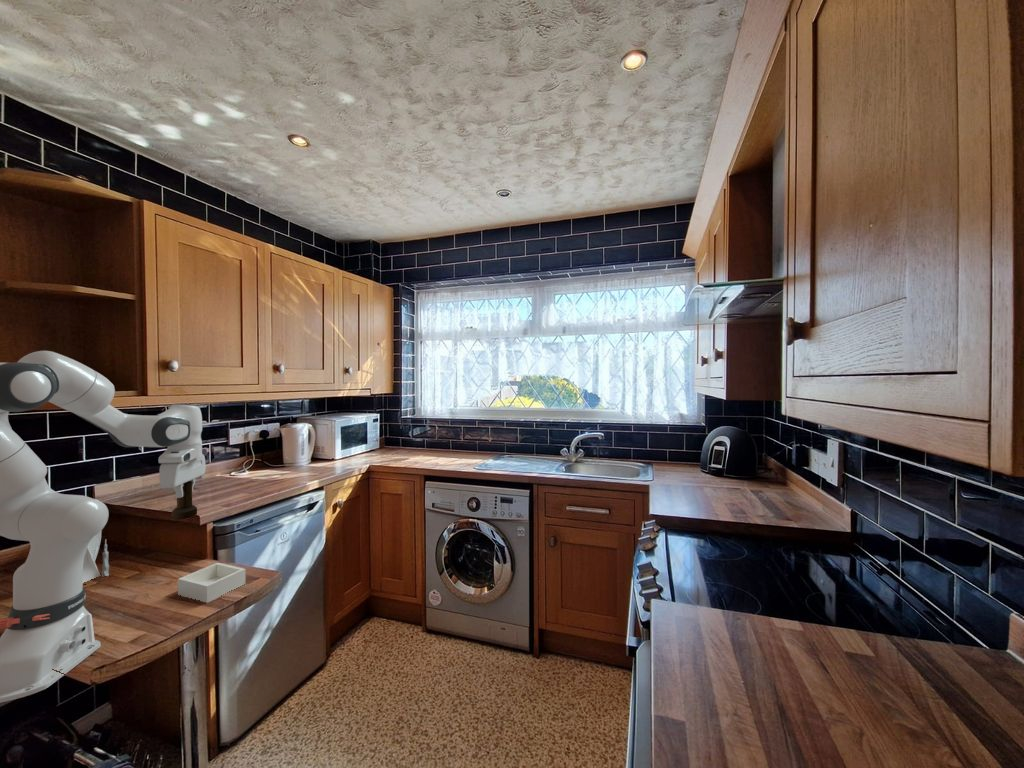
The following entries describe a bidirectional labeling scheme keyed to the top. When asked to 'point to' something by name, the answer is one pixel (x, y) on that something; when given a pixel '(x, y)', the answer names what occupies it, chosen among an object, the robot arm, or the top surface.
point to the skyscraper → (90, 556)
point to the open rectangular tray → (211, 582)
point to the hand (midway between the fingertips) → (184, 495)
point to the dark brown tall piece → (185, 504)
